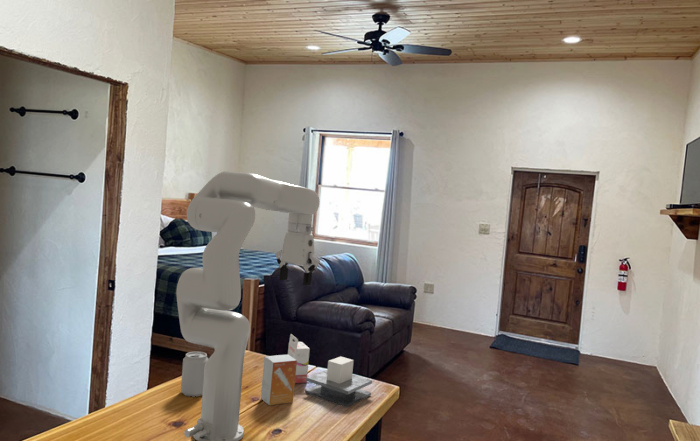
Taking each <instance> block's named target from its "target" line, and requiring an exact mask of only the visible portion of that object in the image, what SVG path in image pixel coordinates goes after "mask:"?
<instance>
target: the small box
mask: <svg viewBox="0 0 700 441" xmlns="http://www.w3.org/2000/svg"><path fill="white" fill-rule="evenodd" d="M296 365H297V360H296V359H294V358H293V357H291V356H290V355H288V353H287V354H278V355H277V354H276V355H265V356H264V358H263V369H262V380H261V390H260V392H261V393H260V399H261V400H263V402H265V403H266V404H267V405H268V406H275V405H279V404H280V405H282V404H289V403H290V404H291V403H293V402H294V395H295V385H296V383H295V375H296Z"/></svg>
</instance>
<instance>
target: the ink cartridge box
mask: <svg viewBox="0 0 700 441" xmlns="http://www.w3.org/2000/svg"><path fill="white" fill-rule="evenodd" d="M310 350H311V349H310V347H308V345H306V344H305V343H304V342H303V341H299V338H297V337H296V336H294V335H293V334H292V333H290V335H289V342H288V349H287V354H288V355H290V356H291V357H293V358H294V359H296V360H297V365H296V375H295V384H303V383H304V384H305V383H308V381H306V377H308V371H309V358H310Z"/></svg>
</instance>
